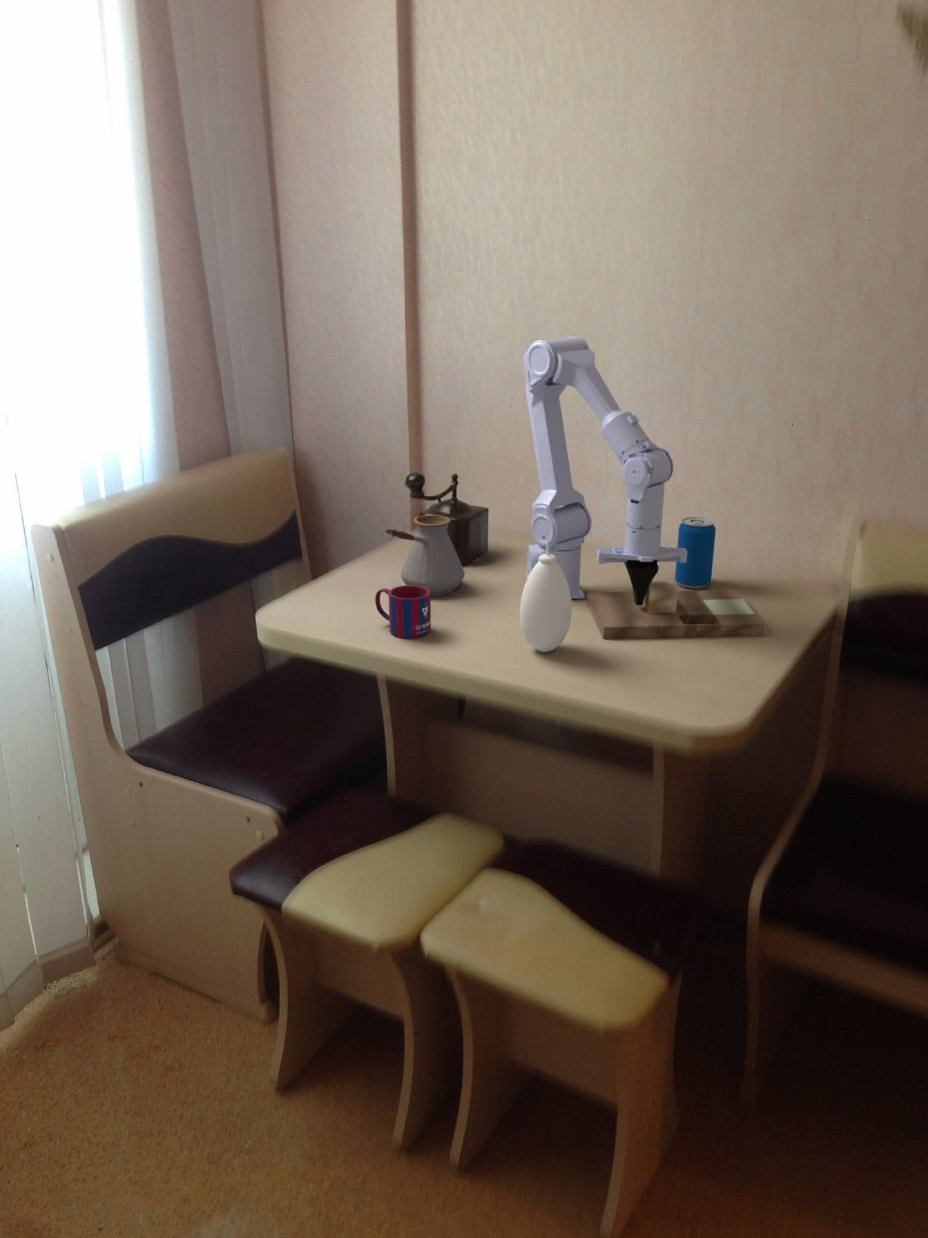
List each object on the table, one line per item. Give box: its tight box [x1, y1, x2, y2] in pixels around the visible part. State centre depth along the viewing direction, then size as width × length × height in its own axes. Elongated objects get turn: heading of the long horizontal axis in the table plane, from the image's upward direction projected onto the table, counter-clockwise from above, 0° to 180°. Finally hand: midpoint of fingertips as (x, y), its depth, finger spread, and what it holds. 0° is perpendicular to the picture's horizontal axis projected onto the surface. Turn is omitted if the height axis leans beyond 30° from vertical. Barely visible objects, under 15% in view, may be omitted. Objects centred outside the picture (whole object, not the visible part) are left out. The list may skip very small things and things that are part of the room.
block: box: [643, 580, 679, 613], centre depth 179 cm, size 4×4×4 cm
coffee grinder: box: [404, 472, 489, 567], centre depth 206 cm, size 16×11×18 cm
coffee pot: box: [379, 515, 466, 597], centre depth 187 cm, size 21×12×15 cm, turn 152°
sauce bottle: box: [519, 539, 573, 653], centre depth 165 cm, size 8×8×18 cm
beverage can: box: [674, 516, 717, 590], centre depth 194 cm, size 6×6×12 cm
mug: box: [374, 584, 432, 640], centre depth 175 cm, size 7×10×7 cm
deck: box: [586, 589, 765, 640], centre depth 180 cm, size 26×16×2 cm, turn 93°
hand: (638, 603), depth 179 cm, fingers closed
